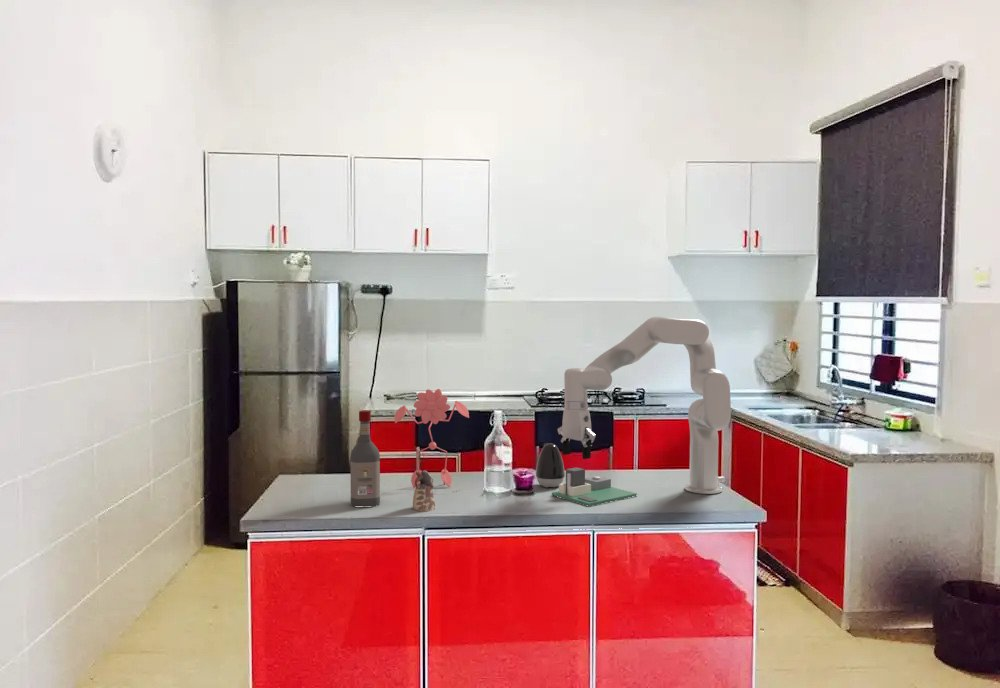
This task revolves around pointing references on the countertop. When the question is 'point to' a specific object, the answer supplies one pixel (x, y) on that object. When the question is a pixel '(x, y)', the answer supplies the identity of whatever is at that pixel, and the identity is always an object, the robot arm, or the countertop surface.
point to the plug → (575, 477)
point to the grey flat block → (598, 482)
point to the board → (598, 496)
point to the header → (575, 489)
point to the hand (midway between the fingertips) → (576, 456)
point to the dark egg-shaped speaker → (550, 466)
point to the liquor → (365, 467)
